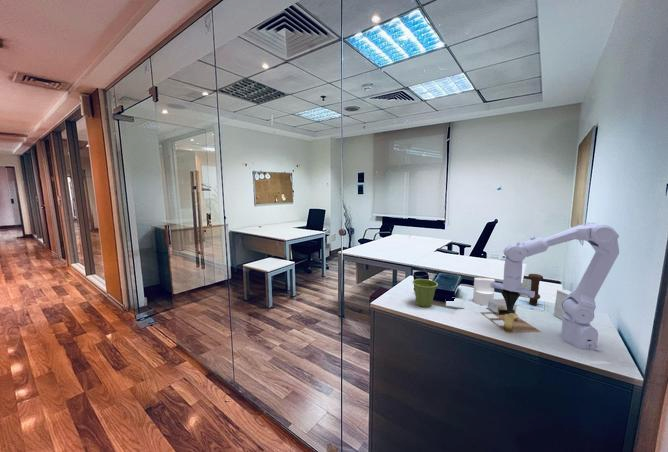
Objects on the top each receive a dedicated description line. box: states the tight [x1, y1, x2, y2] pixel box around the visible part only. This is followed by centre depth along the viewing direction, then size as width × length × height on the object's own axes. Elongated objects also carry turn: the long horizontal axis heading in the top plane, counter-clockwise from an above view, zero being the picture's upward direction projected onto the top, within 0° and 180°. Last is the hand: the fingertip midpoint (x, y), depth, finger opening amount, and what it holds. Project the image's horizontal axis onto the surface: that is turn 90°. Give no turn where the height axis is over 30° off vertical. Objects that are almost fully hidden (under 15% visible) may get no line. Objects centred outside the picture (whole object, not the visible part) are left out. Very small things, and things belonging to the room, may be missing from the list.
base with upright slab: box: [472, 277, 496, 307], centre depth 135 cm, size 9×9×12 cm
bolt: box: [527, 273, 544, 306], centre depth 131 cm, size 6×5×15 cm
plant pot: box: [412, 278, 439, 308], centre depth 132 cm, size 12×12×11 cm
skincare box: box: [553, 289, 573, 321], centre depth 117 cm, size 6×4×12 cm
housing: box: [487, 298, 517, 314], centre depth 122 cm, size 7×8×4 cm
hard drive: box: [445, 297, 466, 310], centre depth 133 cm, size 2×8×12 cm
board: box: [480, 307, 542, 334], centre depth 115 cm, size 23×15×3 cm, turn 2°
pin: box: [503, 314, 514, 332], centre depth 105 cm, size 3×3×6 cm
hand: (509, 309), depth 105 cm, fingers closed
